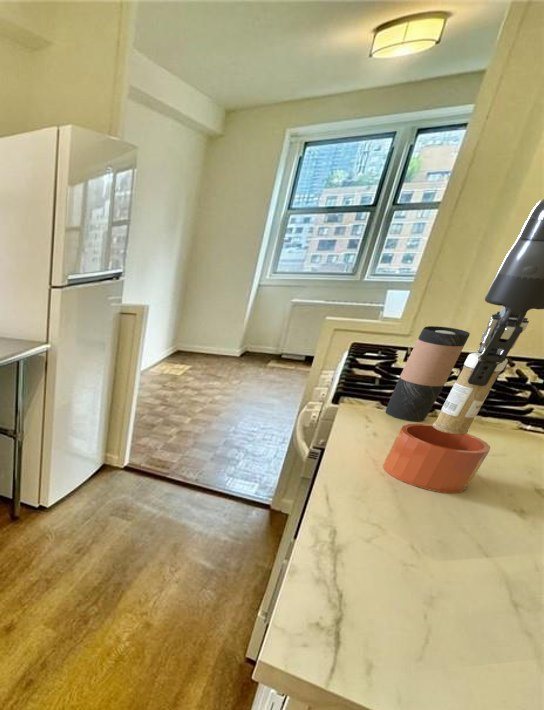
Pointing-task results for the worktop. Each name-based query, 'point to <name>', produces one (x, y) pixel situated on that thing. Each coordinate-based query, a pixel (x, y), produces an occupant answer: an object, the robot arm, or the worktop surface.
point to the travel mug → (426, 372)
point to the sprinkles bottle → (464, 399)
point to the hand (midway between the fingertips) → (476, 380)
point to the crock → (435, 458)
